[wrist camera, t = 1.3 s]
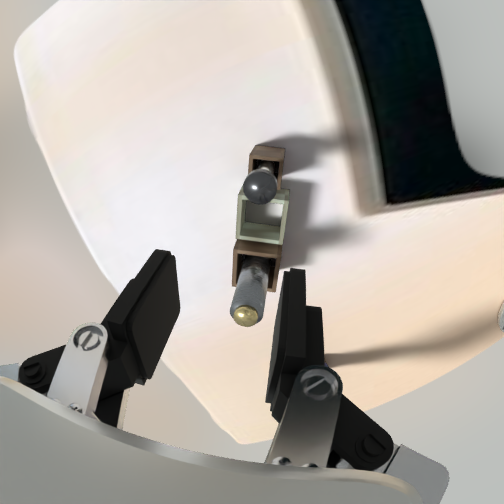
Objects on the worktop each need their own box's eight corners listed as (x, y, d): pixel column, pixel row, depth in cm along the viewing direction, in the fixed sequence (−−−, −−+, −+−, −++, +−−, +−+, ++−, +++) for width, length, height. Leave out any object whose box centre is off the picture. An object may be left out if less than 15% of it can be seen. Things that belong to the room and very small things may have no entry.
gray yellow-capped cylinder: (273, 241, 32) (263, 308, 23) (271, 262, 33) (260, 332, 25) (248, 237, 32) (228, 303, 23) (246, 259, 34) (228, 327, 25)
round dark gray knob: (281, 155, 25) (278, 174, 20) (279, 180, 26) (274, 206, 21) (254, 152, 25) (244, 170, 20) (252, 177, 26) (242, 202, 21)
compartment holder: (294, 149, 26) (294, 160, 23) (277, 269, 34) (275, 292, 30) (246, 144, 27) (238, 153, 23) (238, 264, 34) (231, 286, 31)
